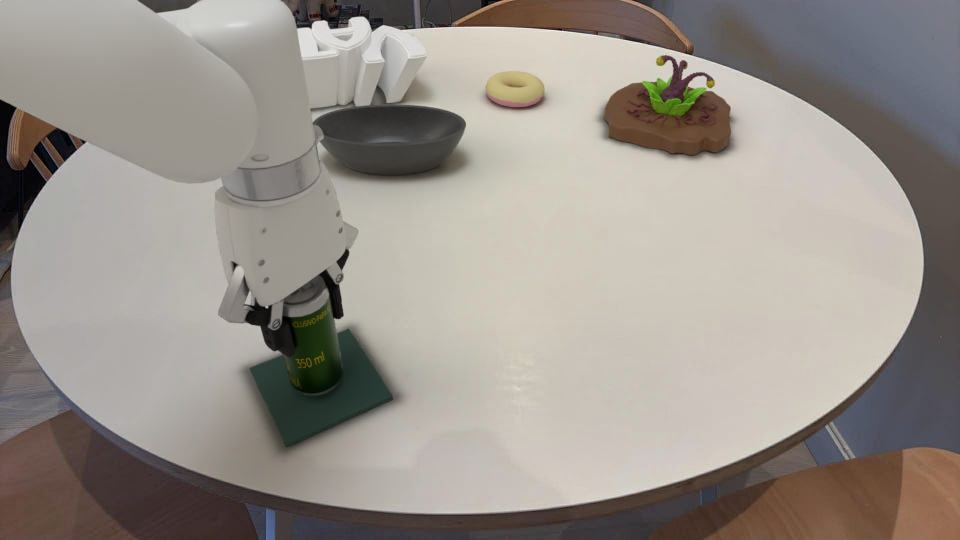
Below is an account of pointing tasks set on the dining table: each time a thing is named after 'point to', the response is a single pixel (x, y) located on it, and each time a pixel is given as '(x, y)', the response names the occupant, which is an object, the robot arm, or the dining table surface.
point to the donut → (515, 89)
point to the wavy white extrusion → (357, 62)
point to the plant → (670, 114)
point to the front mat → (318, 413)
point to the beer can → (312, 339)
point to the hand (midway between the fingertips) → (306, 329)
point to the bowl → (391, 137)
